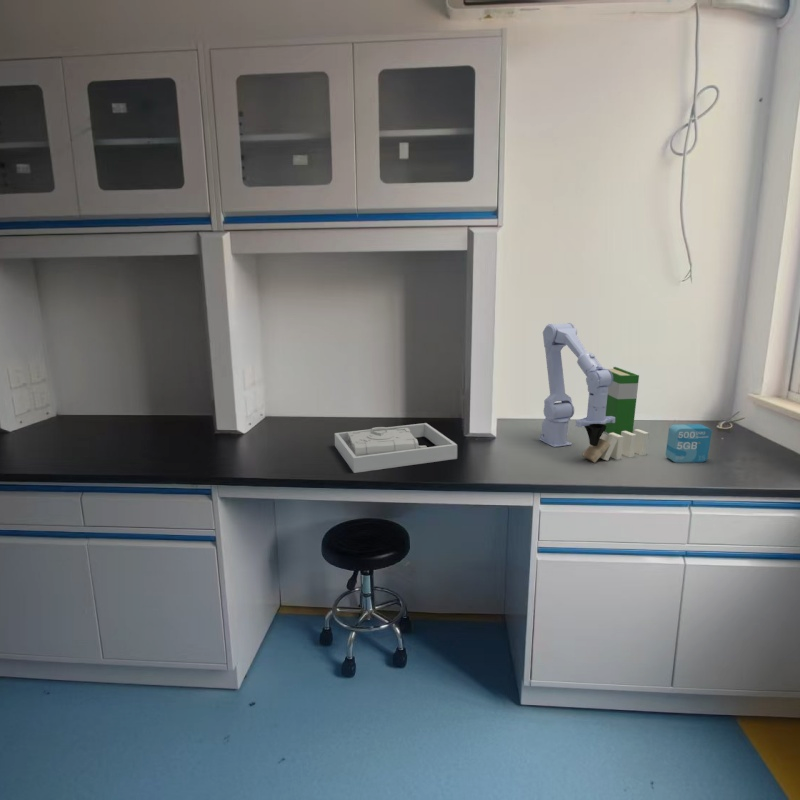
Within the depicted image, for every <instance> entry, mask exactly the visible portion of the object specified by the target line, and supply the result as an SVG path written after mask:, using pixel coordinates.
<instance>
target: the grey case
mask: <svg viewBox="0 0 800 800" xmlns="http://www.w3.org/2000/svg"><path fill="white" fill-rule="evenodd" d="M370 429H371V431H367V432H360V431H359V430H354V431H355V432H350V431H347V432H348V439H349V440H350V443H348V447H349V448H350V449H351V450H352V452H353V453H354V454H355V455H356V456H364V455H372V454H380V453H388V452H395V451H403V450H411V449H419V448H427V445H419V441H418V439H417V437H416V438H414V436H413V435H412V434H411V432H410V430H409V429H408V428H399V429H395V430H387V429H386V427H385V426H377V427H372V428H370Z"/></svg>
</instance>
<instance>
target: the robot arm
mask: <svg viewBox="0 0 800 800" xmlns="http://www.w3.org/2000/svg"><path fill="white" fill-rule="evenodd" d="M542 336H543V346H544V350H545V358H546V359H545V360H546V368H547V378H548V386H549V387H548V388H549V395H547V398H545V399H544V406H543V415H544V417H545V418H544V419H543V421H542V424H541V436H540V438H539V441H542V442H543V443H546V444H547V445H549V446H552V447H553V448H559V447H564V446H565V447H566V446H572V445H573V443H572V442H571V441H568V431H569V421H571V419H572V417H574V414H575V406H574V404H573V401H572V400H573V399H572V397H571V396H569V395H568V394H566V389H565V387H566V386H565V380H564V369H563V359H562V349H564V347H565V346H567V347H568V348H569V350H570V351H571V352H572V354H574V355H575V356H576V357H577V361H576V364H577V365H578V367H579V368H580V369H581V370H582V372H583V374H584V375H585V376H586V377H585V382H586V385H587V392H588V400H587V401H588V402H587V409H586V410H587V412H586V417H583V418H581V419H580V418H579V419H576V420H575V427H577V428H582V427H584V429H585V430H586V432H587V433H586V434H587V437H588V442H589V446H590V445H592V446H597V444H598V442H599V439H601V438H602V436H603V433H604V432H605V429H606V425H604V424H606V423H615V417H613V416H606V406H607V395H608V387H609V386H611V384H612V383H613V375H612V373H611V371H610V370H609V369H610V368H606V367H604V366H602V365H601V363H600V362H599V361H598V359H597V358H596V355H595V354H593V353H592V352H587V350H586V349H585V347H584V345H583V343H582V342H581V339H580V338H579V337H578V329H577V328H576V327H575V325H574V324H573V323H571V322H567V323H548V324H546V325H545V328H544V329H543V331H542Z"/></svg>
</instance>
